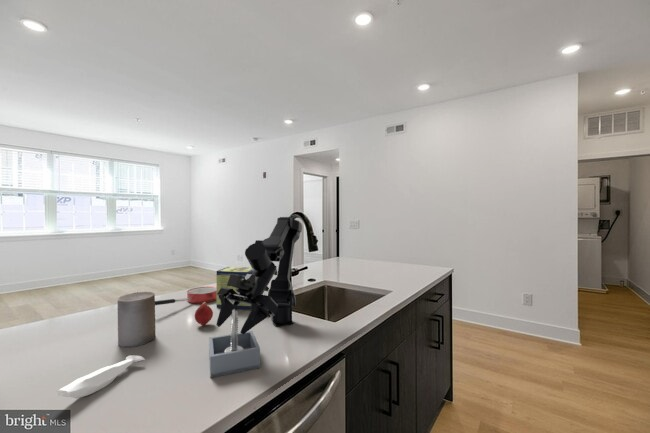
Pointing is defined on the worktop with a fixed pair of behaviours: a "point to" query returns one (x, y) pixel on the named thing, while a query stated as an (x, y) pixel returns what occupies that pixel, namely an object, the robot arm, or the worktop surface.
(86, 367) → the worktop surface
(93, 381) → the white fish figurine
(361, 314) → the worktop surface
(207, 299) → the frying pan
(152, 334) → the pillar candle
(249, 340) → the tote
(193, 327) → the worktop surface
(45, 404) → the worktop surface
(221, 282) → the protein box
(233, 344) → the screw
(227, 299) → the robot arm
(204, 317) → the pomegranate
